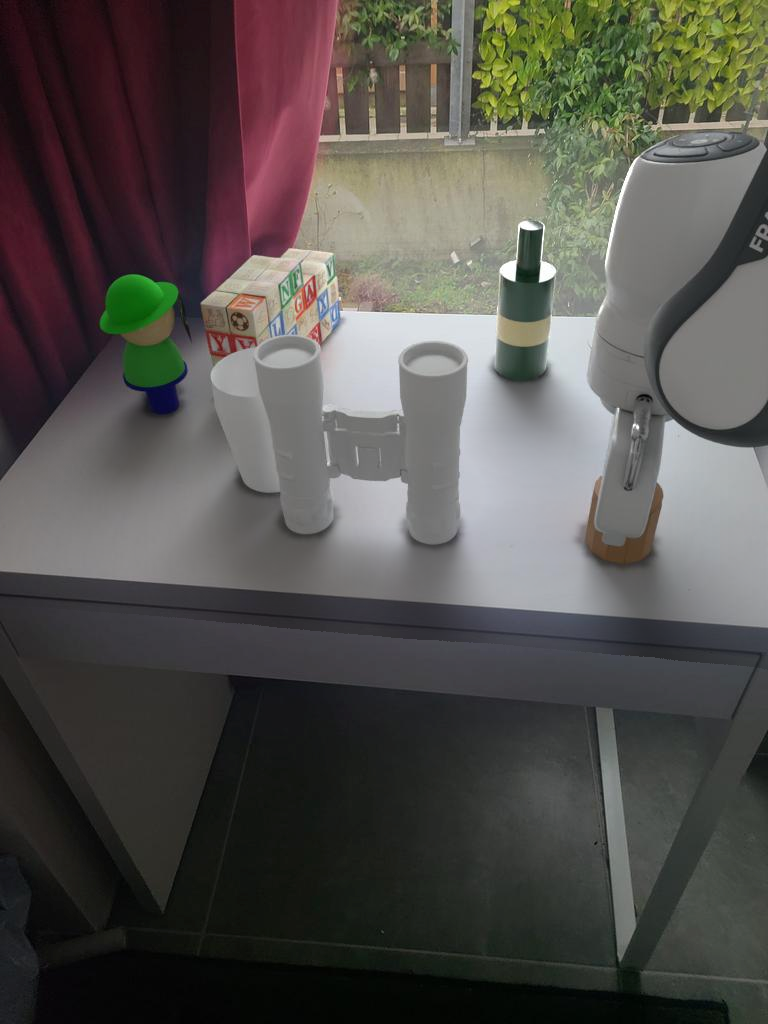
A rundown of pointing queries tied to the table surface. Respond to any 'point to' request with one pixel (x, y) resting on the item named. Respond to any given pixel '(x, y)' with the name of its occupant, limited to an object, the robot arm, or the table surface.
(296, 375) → the binoculars
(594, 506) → the brown cylinder
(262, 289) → the stack of blocks
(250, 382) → the cup
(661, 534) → the table surface
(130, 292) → the toy
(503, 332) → the bottle
